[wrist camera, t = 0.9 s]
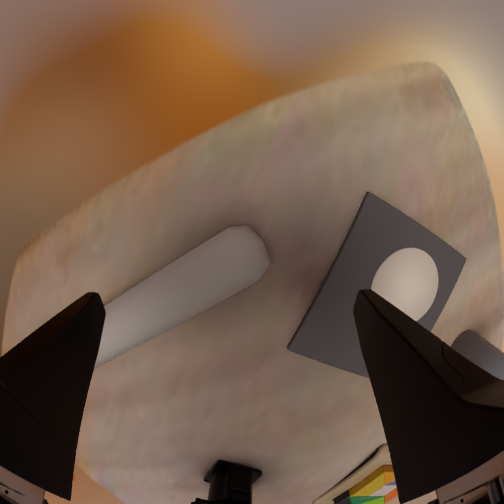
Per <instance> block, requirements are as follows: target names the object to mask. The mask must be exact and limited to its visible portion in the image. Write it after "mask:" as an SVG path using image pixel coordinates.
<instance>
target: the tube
mask: <svg viewBox="0 0 504 504" xmlns="http://www.w3.org/2000/svg"><path fill="white" fill-rule="evenodd" d="M269 266H270V262H269V258H268V255H267V251H266V248H265V244H264V241H263V240H262V239H261V238H260V237H259V236H258V235H257V234H256V233H255V232H254V231H253V230H252V229H251V228H250V227H249V226H248V225H241V226H232V227H229V228H227V229H225V230H224V231H222V232H220V233H219V234H217V235H215V236H214V237H212V238H210V239H209V240H207V241H205V242H204V243H202V244H201V245H199V246H197V247H196V248H194V249H192V250H191V251H189V252H188V253H186V254H184V255H183V256H181V257H179V258H178V259H176V260H175V261H173V262H172V263H170V264H168V265H167V266H165V267H164V268H162V269H160V270H159V271H157V272H156V273H154V274H153V275H151V276H149V277H148V278H146V279H145V280H143V281H142V282H140V283H139V284H137V285H135V286H134V287H132V288H131V289H129V290H128V291H126V292H125V293H123V294H122V295H120V296H119V297H117V298H116V299H114V300H112V301H111V302H109V303H108V304H106V305H105V306H104V308H105V311H106V318H105V322H104V327H103V332H102V337H101V342H100V347H99V352H98V356H97V359H96V363H95V367H94V368H96V367H98V366H100V365H102V364H104V363H106V362H108V361H110V360H112V359H114V358H116V357H117V356H119V355H121V354H123V353H125V352H127V351H129V350H131V349H133V348H135V347H137V346H139V345H141V344H143V343H145V342H147V341H149V340H150V339H152V338H154V337H156V336H158V335H160V334H162V333H164V332H166V331H168V330H170V329H171V328H173V327H175V326H177V325H179V324H181V323H183V322H185V321H186V320H188V319H190V318H192V317H194V316H196V315H197V314H199V313H201V312H203V311H205V310H207V309H209V308H210V307H212V306H214V305H216V304H218V303H219V302H221V301H223V300H225V299H227V298H229V297H230V296H232V295H234V294H236V293H238V292H239V291H241V290H243V289H245V288H246V287H248V286H250V285H252V284H254V283H255V282H257V281H259V280H260V279H261V277H262V276H263V274H264V273H265V272H266V270H267V269H268V267H269Z"/></svg>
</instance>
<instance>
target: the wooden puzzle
mask: <svg viewBox="0 0 504 504" xmlns="http://www.w3.org/2000/svg"><path fill="white" fill-rule="evenodd" d="M397 495H398V492H397V486H396V481H395V476H394V472H393V467H392V462H391V458H390V453H389V448H388V444H387V443H385V444H383V445H382V446H381V447H380V448H379V450H378V452H377V453H376V455H375V456H374V457H373V458H371V459H370V460H369V461H368V462H367V463H365V464H364V465H363V466H362V467H360V468H359V469H358V470H356V471H355V472H354V473H352V474H351V475H350V476H348V477H347V478H346V479H344V480H343V481H341V482H340V483H339V484H337V485H336V486H334V487H333V488H331V489H330V490H328V491H327V492H326V493H324V494H323V495H321V496H320V497H319V498H317V499H316V500H315V501H313V504H385V503H386V502H388V501H390V500H391V499H393V498H394V497H396V496H397Z"/></svg>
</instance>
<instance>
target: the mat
mask: <svg viewBox="0 0 504 504" xmlns="http://www.w3.org/2000/svg"><path fill="white" fill-rule="evenodd" d="M466 259H467V258H465V257H464V256H463V255H461V254H460V253H459V252H458V251H456V250H455V249H454V248H452V247H451V246H450V245H448V244H447V243H446V242H444V241H443V240H442V239H440V238H439V237H437V236H436V235H435V234H433V233H432V232H430V231H429V230H428V229H426V228H425V227H423V226H422V225H420V224H419V223H417V222H416V221H414V220H413V219H411V218H410V217H408V216H407V215H405V214H404V213H402V212H401V211H399V210H398V209H396V208H395V207H393V206H391V205H390V204H388V203H387V202H385V201H383V200H382V199H380V198H379V197H377V196H375V195H374V194H372V193H370V192H367V193H366V195H365V197H364V200H363V202H362V204H361V206H360V208H359V211H358V213H357V215H356V217H355V219H354V222H353V224H352V226H351V228H350V230H349V232H348V234H347V236H346V238H345V240H344V242H343V245H342V247H341V249H340V251H339V253H338V255H337V257H336V259H335V261H334V263H333V265H332V267H331V268H330V270H329V272H328V274H327V276H326V278H325V280H324V282H323V284H322V286H321V288H320V289H319V291H318V293H317V295H316V297H315V299H314V301H313V302H312V304H311V306H310V308H309V310H308V311H307V313H306V315H305V317H304V319H303V320H302V322H301V324H300V326H299V327H298V329H297V331H296V333H295V334H294V336H293V338H292V339H291V341H290V343H289V344H288V346H287V349H288V350H290V351H292V352H295V353H297V354H300V355H303V356H306V357H308V358H311V359H314V360H317V361H320V362H322V363H325V364H328V365H331V366H334V367H337V368H340V369H343V370H346V371H349V372H352V373H355V374H358V375H361V376H365V377H368V378H369V375H368V371H367V368H366V365H365V362H364V358H363V355H362V352H361V348H360V343H359V338H358V333H357V329H356V324H355V319H354V315H353V307H354V304H355V300H356V297H357V293H358V291H359V290H360V289H371V290H373V291H374V292H376V293H377V294H378V295H380V296H381V297H383V298H384V299H386V300H387V301H388V302H390V303H391V304H393V305H394V306H395V307H397V308H398V309H400V310H401V311H402V312H404V313H405V314H407V315H408V316H409V317H411V318H412V319H414V320H415V321H416V322H418V323H419V324H420V325H422V326H423V327H424V328H426V329H427V330H429V331H431V330H432V328H433V326H434V324H435V323H436V321H437V319H438V317H439V315H440V314H441V312H442V310H443V308H444V306H445V304H446V302H447V300H448V298H449V296H450V294H451V292H452V290H453V288H454V286H455V284H456V282H457V280H458V277H459V275H460V273H461V271H462V268H463V266H464V264H465V261H466Z"/></svg>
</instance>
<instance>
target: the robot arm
mask: <svg viewBox="0 0 504 504" xmlns="http://www.w3.org/2000/svg"><path fill="white" fill-rule="evenodd" d="M353 315H354V319H355V324H356V329H357V333H358V338H359V343H360V348H361V352H362V355H363V358H364V362H365V365H366V368H367V371H368V375H369V378H370V381H371V385H372V388H373V391H374V395H375V398H376V402H377V406H378V409H379V413H380V417H381V420H382V424H383V428H384V432H385V436H386V440H387V444H388V448H389V453H390V458H391V462H392V467H393V472H394V476H395V481H396V486H397V492H398V497H399V502H400V504H403V503H405V502H408V501H411V500H413V499H416V498H418V497H421V496H422V495H425V494H428V493H430V492H432V491H434V490H436V494H437V499H435V500H433V501H431V502H429V503H428V504H504V380H501V379H499V378H497V377H495V376H493V375H492V374H490V373H489V372H487V371H486V370H484V369H482V368H481V367H479V366H478V365H476V364H475V363H473V362H472V361H470V360H469V359H467V358H466V357H464V356H463V355H461V354H460V353H458V352H457V351H456V350H454V349H453V348H451V347H450V346H449V345H447V344H446V343H445V342H443V341H441V339H439V338H438V337H437V336H435V335H434V334H433V333H431V332H430V331H429V330H427V329H426V328H424V327H423V326H422V325H420V324H419V323H418V322H416V321H415V320H414V319H412V318H411V317H409V316H408V315H407V314H405V313H404V312H402V311H401V310H400V309H398V308H397V307H395V306H394V305H393V304H391V303H390V302H388V301H387V300H386V299H384V298H383V297H381V296H380V295H378V294H377V293H376V292H374V291H373V290H371V289H360V290H359V291H358V293H357V297H356V300H355V304H354V307H353ZM105 318H106V311H105V308H104V305H103V303H102V300H101V297H100V295H99V294H98V293H96V292H88V293H86V294H85V295H83V296H82V297H80V298H79V299H77V300H76V301H75V302H73V303H72V304H70V305H69V306H68V307H66V308H65V309H63V310H62V311H61V312H59V313H58V314H57V315H55V316H54V317H53V318H51V319H50V320H49V321H47V322H46V323H44V324H43V325H42V326H41V327H39V328H38V329H37V330H35V331H34V332H33V333H31V334H30V335H29V336H27V337H26V338H25V339H24V340H22V341H21V343H18V344H17V345H16V346H15V347H13V348H12V349H11V350H10V351H8V352H7V353H6V354H4V355H3V356H2V357H0V504H48V502H47V500H46V499H44V495H45V490H46V491H48V492H50V493H52V494H55V495H57V496H59V497H62V498H64V499H66V500H69V501H70V499H71V491H72V481H73V472H74V464H75V457H76V452H75V451H76V449H77V443H78V437H79V432H80V426H81V421H82V416H83V411H84V407H85V402H86V398H87V394H88V390H89V386H90V382H91V378H92V374H93V370H94V367H95V363H96V359H97V356H98V352H99V347H100V342H101V337H102V332H103V327H104V322H105ZM261 475H262V471H259V470H255V469H251V468H247V467H243V466H239V465H235V464H232V463H228V462H225V461H221V460H219V461H217V462H216V463H215V465H214V466H213V467H212V468H211V470H210V471H209V472H208V473H207V475H206V476H205V477H204V481H205V482H208V483H210V488H209V494H208V500H203V499H200V498H196V501H195V502H191V504H252V484H253V483H254V482H255V481H256V480H257V479H258V478H259V477H260V476H261Z"/></svg>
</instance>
